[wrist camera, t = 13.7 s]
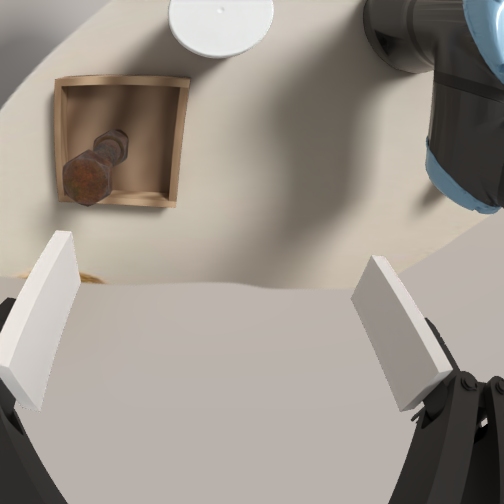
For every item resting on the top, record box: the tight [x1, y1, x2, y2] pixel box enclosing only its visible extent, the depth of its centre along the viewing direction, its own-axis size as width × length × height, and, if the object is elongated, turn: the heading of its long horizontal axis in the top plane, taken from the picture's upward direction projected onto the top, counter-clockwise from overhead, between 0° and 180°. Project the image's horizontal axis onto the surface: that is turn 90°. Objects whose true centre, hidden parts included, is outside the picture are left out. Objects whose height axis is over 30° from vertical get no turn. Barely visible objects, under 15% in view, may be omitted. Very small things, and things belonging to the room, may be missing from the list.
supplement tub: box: [168, 0, 273, 58], centre depth 27 cm, size 10×10×15 cm
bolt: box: [62, 129, 129, 206], centre depth 33 cm, size 6×5×15 cm
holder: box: [54, 75, 191, 208], centre depth 39 cm, size 18×18×4 cm
